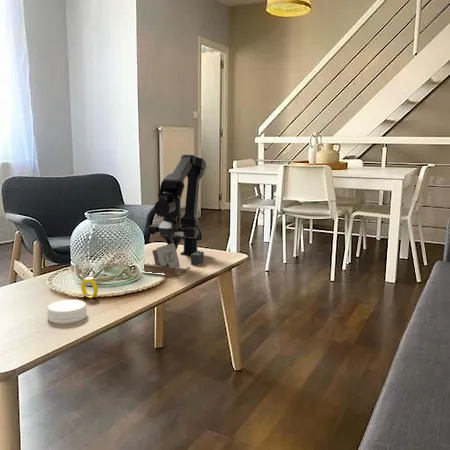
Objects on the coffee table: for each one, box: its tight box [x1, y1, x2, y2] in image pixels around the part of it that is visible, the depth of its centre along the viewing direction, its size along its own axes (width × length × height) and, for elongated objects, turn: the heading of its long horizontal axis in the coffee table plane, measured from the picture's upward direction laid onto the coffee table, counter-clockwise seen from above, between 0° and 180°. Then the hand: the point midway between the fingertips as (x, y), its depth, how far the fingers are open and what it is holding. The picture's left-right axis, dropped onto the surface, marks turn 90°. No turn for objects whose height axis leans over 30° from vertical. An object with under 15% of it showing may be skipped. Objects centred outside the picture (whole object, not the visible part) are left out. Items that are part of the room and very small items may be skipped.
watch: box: [80, 276, 99, 299], centre depth 145 cm, size 6×3×6 cm, turn 55°
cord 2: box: [190, 250, 205, 266], centre depth 186 cm, size 6×3×4 cm, turn 164°
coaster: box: [46, 299, 88, 325], centre depth 129 cm, size 10×10×4 cm
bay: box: [142, 263, 191, 277], centre depth 175 cm, size 12×14×3 cm
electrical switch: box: [151, 242, 181, 269], centre depth 176 cm, size 9×5×9 cm, turn 146°
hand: (173, 253), depth 181 cm, fingers closed
